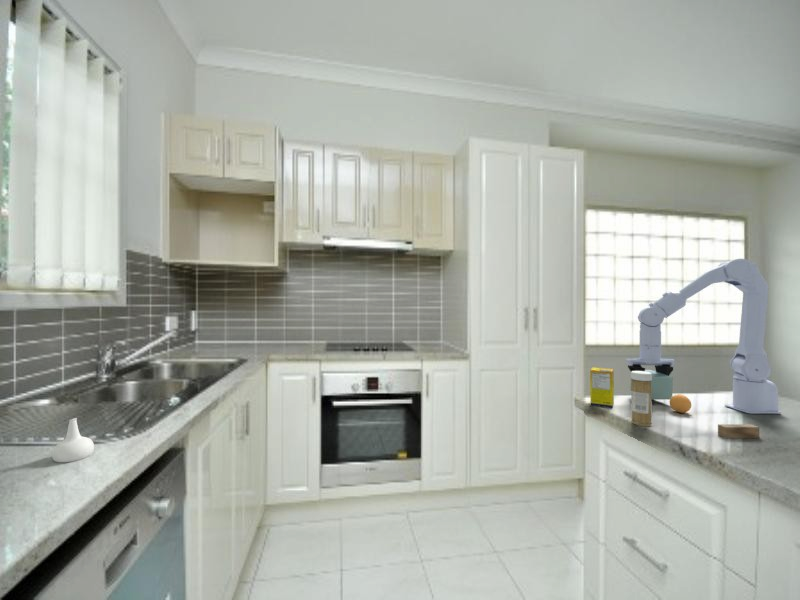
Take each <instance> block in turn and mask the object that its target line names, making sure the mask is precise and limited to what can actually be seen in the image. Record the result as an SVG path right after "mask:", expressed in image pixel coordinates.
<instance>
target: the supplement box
mask: <svg viewBox="0 0 800 600" xmlns="http://www.w3.org/2000/svg"><path fill="white" fill-rule="evenodd" d="M589 373H590V375H589V377H590V379H589V380H590V384H589V385H590V387H589V389H590V391H589V392H590V394H589V395H590V406H595V407H601V408H610V409H613V408H614V405H615V404H614V401H615V400H614V399H615V393H614V390H615V386H614V378H615V377H614V368H605V367H595V366H592V368H590V371H589Z"/></svg>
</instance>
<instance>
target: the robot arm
mask: <svg viewBox="0 0 800 600" xmlns="http://www.w3.org/2000/svg"><path fill="white" fill-rule="evenodd" d="M722 282H724V283H726V284H729V285H732V286H733V287H735V288H737V289H738V290H739V291H741V292H742V304H741V305H742V306H741V315H740V327H739V329H740V330H739V341H738V346H737V347H736V349H735V350H734V356H733V357H732V358H731V359H730V362H729V366H730V369H731V370H732V372H734V373H733V376H732V404H731V403H730V404H729V403H727V404H726V403H725V404H724V406H725V407H727V408H731V409H733V410H737V411H739V412H743V413H746V414H754V415H755V414H759V415H760V414H782V412H781V411H779V390H778V387H777V385H776V384H775V382H773V381H771V380H768V379H767V378H769V377H770V375H771V374H772V373H771V372H772V370H771V366H770V364H769V361H768V355H767V352H766V351H765V348H764V341H765V332H766V331H765V329H766V320H767V319H766V318H767V309H768V297H769V296H768V295H769V284H768V283H767V282H766V280H765V278H764V276H762V274H761V272H760V271H759V266H758V265H757V264H755V263H753V262H752V261H750V260H748V259H746V258H736V259H732V260H729V261H723V262H720V264H718V265H717V266H714V267H712V268H710V269H708V270H707V271H705V272H704V273H703V274H702V273H701V275H700V276H698V277H697V278H696V279H694V280H692V281H691V282H690V283H688V284H687V285H685V286H684V287H683V288H681V289H679V290H678V291H669V292H664V293H663V294H662V297H660V298H659V299H658V300H656V301H654V302H650V303H649V304H648V306H649V307H647V308H646V307H645V308H642V310H640V311H639V314H638V316H637V320H638V321H639V322H640V325H639V329H640V330H639V357H635V358H625V365H626V366H627V368H628V369H629V372H630V373H631V372H632V371H645V370H646V368H645V367H643V366H654V368H655V371H656V372H659V373H662V374H665V375H668V376H671V373H672V372H673V371H674V367H675V365H676V364H675V363H676V360H675V359H672V358H662V331H661V327H662V326H661V324H662V323H663V322H664V320H665V319H667V318H668V317H670V316H672V315H673V314H675V313H677V312H678V311H679V310H680V309H682V308H684V307H685V306H686V304H687V300H688V299H690V298H691V297H694V295H696V294H697V293H699V292H701V291H703V290H704V289H706V288H708V287H710V286H711V285H713V284H716V283H722ZM664 318H665V319H664Z"/></svg>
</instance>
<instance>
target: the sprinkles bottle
mask: <svg viewBox="0 0 800 600" xmlns="http://www.w3.org/2000/svg"><path fill="white" fill-rule="evenodd" d="M631 380H632V390H631V389H630V393H631V399H630V400H631V401H630V404H631V406H630V407H631V421H630V422H631V423H632V424H633V425H636V426H639V427H651V426H652V425H653V422H652V410H653V405H652V400H651V380H652V374H651V373H650V372H645V371H632V372H631V371H630V381H631Z"/></svg>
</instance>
